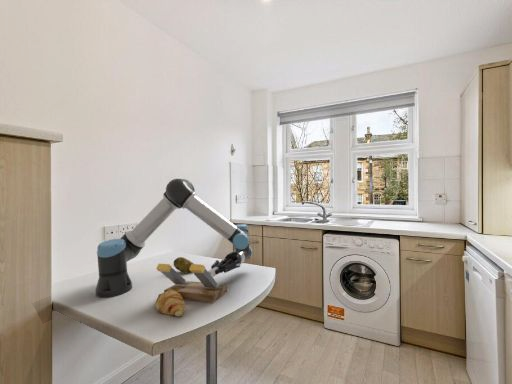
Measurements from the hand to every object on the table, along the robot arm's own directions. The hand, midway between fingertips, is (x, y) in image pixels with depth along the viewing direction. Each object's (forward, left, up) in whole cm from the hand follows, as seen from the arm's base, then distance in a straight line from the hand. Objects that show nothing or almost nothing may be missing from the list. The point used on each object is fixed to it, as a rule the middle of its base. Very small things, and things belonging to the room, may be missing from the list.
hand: (209, 274), depth 108 cm
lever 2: (+1, +1, -5) cm, 5 cm away
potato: (+14, +41, -10) cm, 45 cm away
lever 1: (-4, +16, -5) cm, 17 cm away
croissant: (-16, +5, -10) cm, 19 cm away
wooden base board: (-1, +8, -10) cm, 13 cm away
